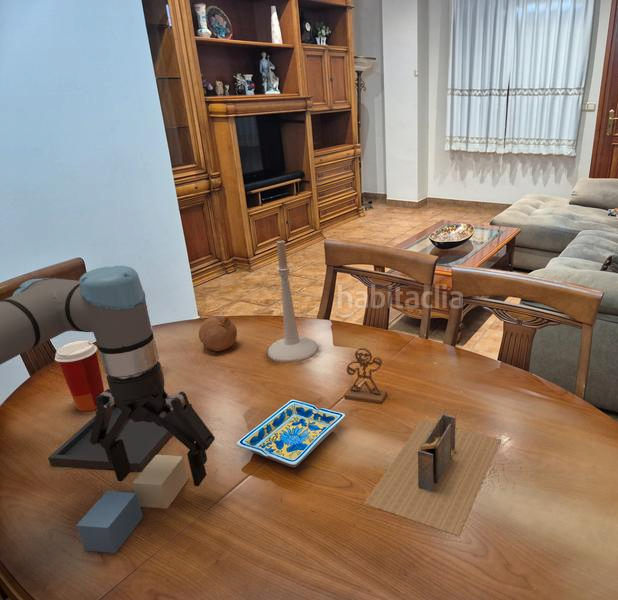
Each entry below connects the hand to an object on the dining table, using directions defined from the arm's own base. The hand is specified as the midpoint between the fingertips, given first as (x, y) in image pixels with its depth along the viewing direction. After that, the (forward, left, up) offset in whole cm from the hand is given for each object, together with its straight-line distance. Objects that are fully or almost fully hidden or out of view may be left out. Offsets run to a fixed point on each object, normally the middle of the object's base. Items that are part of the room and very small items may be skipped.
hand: (162, 478), depth 86 cm
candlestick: (+6, +52, -3) cm, 52 cm away
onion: (-14, +52, -3) cm, 54 cm away
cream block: (0, 0, -3) cm, 3 cm away
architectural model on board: (+46, +10, -3) cm, 47 cm away
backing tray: (-16, +14, -3) cm, 22 cm away
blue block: (-3, -9, -3) cm, 10 cm away
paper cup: (-31, +24, -3) cm, 40 cm away
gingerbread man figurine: (+29, +32, -3) cm, 43 cm away
